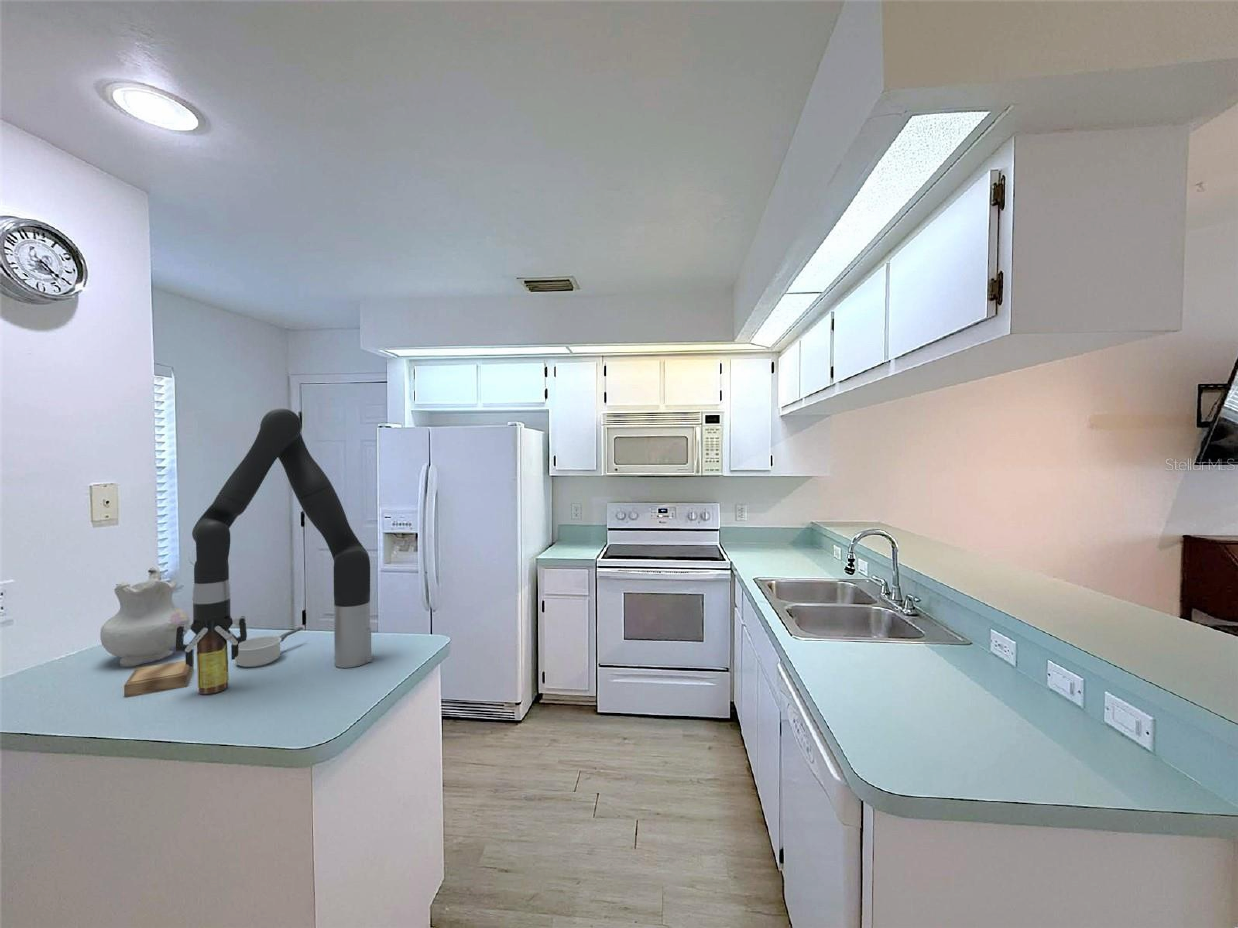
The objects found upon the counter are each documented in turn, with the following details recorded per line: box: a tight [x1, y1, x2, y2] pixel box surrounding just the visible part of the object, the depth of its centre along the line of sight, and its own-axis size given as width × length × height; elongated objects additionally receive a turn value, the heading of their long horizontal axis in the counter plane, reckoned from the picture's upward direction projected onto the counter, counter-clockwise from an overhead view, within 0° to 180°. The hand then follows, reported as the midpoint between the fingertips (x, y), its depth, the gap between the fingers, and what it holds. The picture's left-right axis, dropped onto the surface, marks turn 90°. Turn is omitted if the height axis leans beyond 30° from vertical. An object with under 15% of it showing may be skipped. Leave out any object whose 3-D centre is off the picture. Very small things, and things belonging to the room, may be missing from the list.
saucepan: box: [235, 626, 304, 668], centre depth 159 cm, size 12×20×6 cm, turn 162°
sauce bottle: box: [196, 620, 229, 695], centre depth 136 cm, size 6×6×20 cm
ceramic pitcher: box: [99, 567, 190, 668], centre depth 157 cm, size 22×20×25 cm
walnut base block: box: [123, 659, 194, 698], centre depth 140 cm, size 12×12×3 cm
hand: (212, 662), depth 136 cm, fingers open, 8 cm apart
